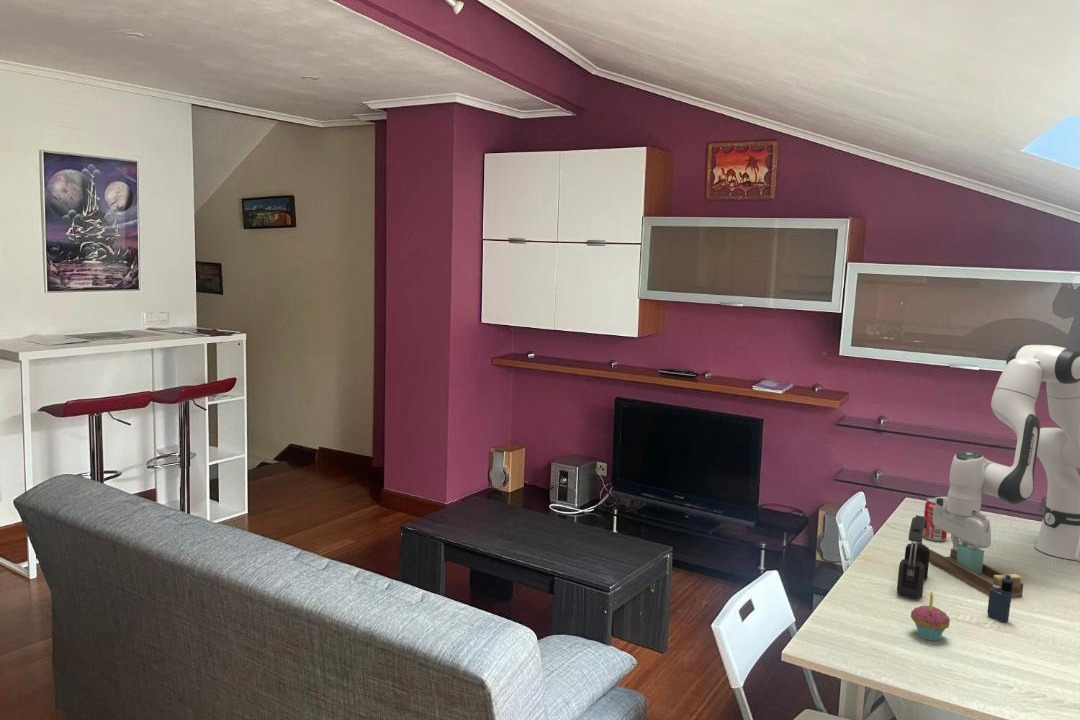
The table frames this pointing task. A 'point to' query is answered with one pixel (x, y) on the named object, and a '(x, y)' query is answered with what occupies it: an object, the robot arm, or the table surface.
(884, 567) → the table surface
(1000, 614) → the vaping device
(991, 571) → the rail
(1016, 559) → the table surface
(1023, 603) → the table surface
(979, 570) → the block
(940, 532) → the soda can
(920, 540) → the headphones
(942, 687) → the table surface
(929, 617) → the cupcake
